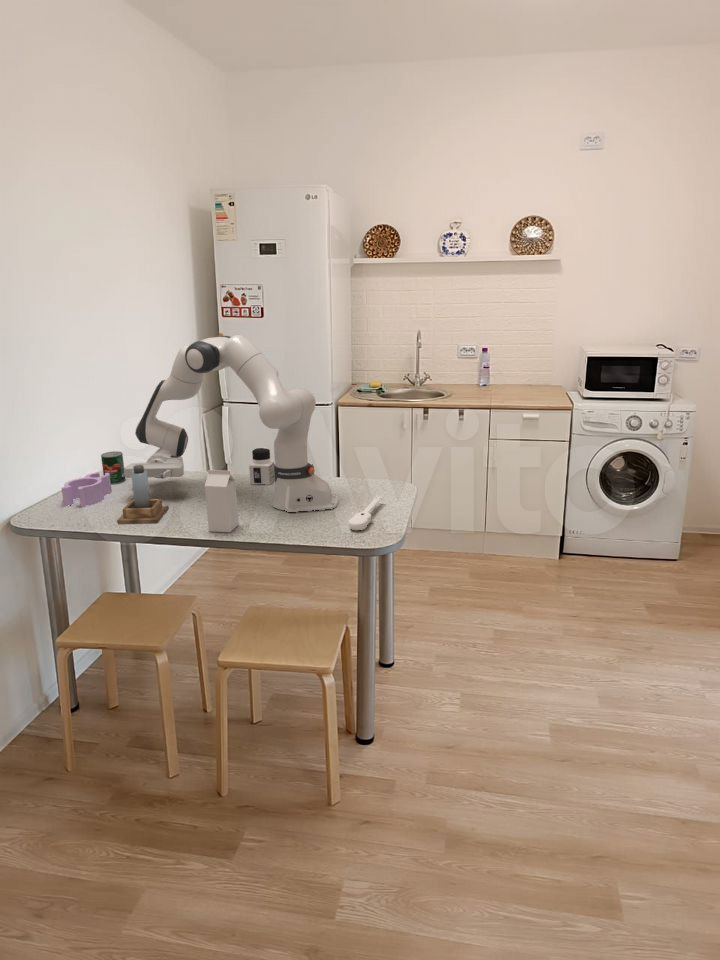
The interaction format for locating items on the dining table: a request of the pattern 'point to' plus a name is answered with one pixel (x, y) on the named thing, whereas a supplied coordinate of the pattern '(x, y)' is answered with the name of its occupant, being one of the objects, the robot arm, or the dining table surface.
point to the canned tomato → (113, 466)
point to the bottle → (140, 487)
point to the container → (261, 467)
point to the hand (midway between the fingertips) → (148, 476)
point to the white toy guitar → (363, 516)
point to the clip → (87, 489)
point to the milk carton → (221, 501)
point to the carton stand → (143, 513)
